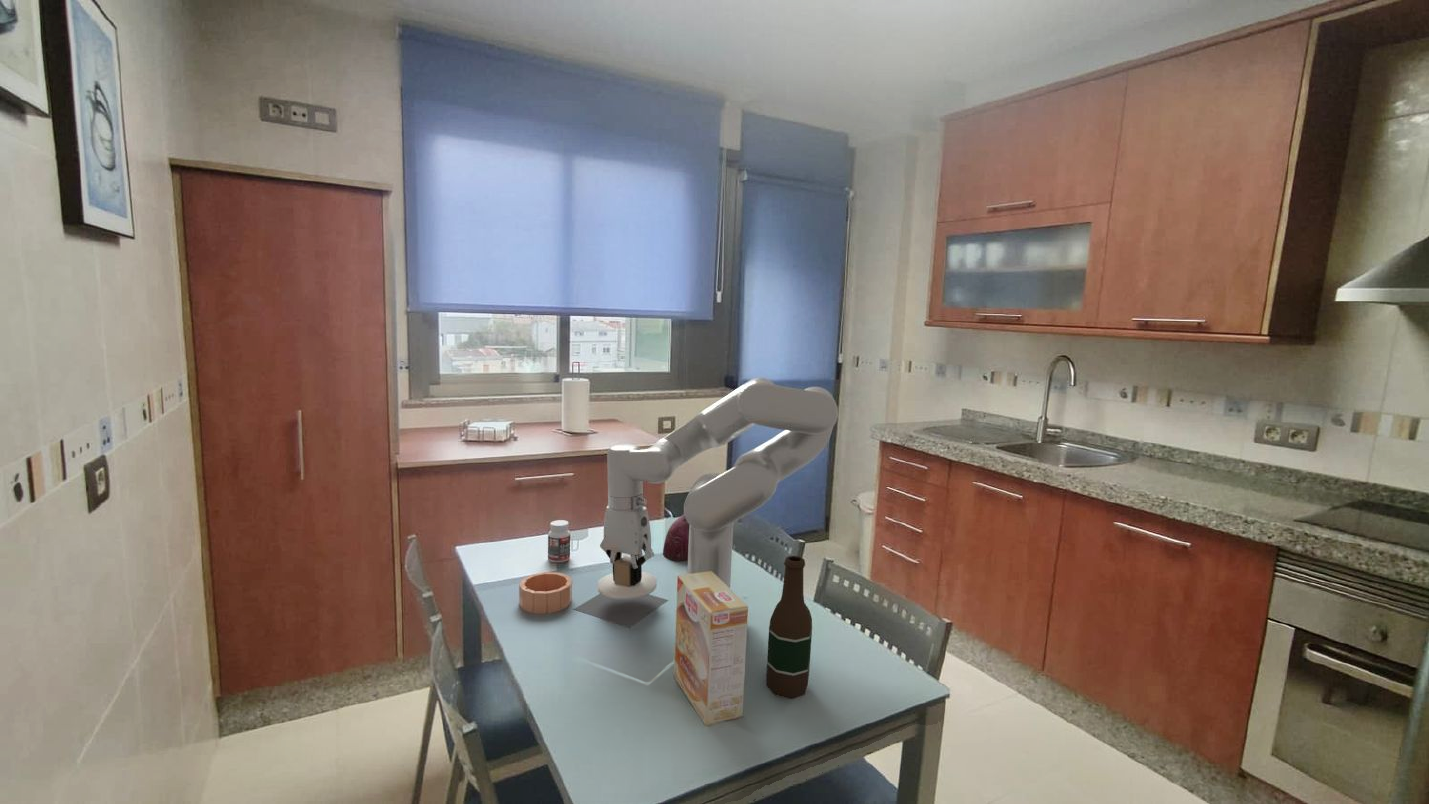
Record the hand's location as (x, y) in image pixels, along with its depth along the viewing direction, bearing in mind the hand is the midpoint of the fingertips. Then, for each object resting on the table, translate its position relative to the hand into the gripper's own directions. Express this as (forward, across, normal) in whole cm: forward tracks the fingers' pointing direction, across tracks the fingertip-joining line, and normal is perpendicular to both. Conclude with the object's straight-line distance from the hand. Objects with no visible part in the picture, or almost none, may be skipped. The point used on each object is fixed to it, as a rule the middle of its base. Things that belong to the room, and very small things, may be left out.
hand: (627, 580), depth 138 cm
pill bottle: (+5, +31, -12) cm, 34 cm away
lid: (+1, 0, 0) cm, 1 cm away
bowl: (+5, +16, +8) cm, 19 cm away
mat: (+6, +1, 0) cm, 6 cm away
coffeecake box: (+7, -31, +20) cm, 37 cm away
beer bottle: (+8, -42, +10) cm, 44 cm away
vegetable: (+7, +6, -34) cm, 35 cm away
